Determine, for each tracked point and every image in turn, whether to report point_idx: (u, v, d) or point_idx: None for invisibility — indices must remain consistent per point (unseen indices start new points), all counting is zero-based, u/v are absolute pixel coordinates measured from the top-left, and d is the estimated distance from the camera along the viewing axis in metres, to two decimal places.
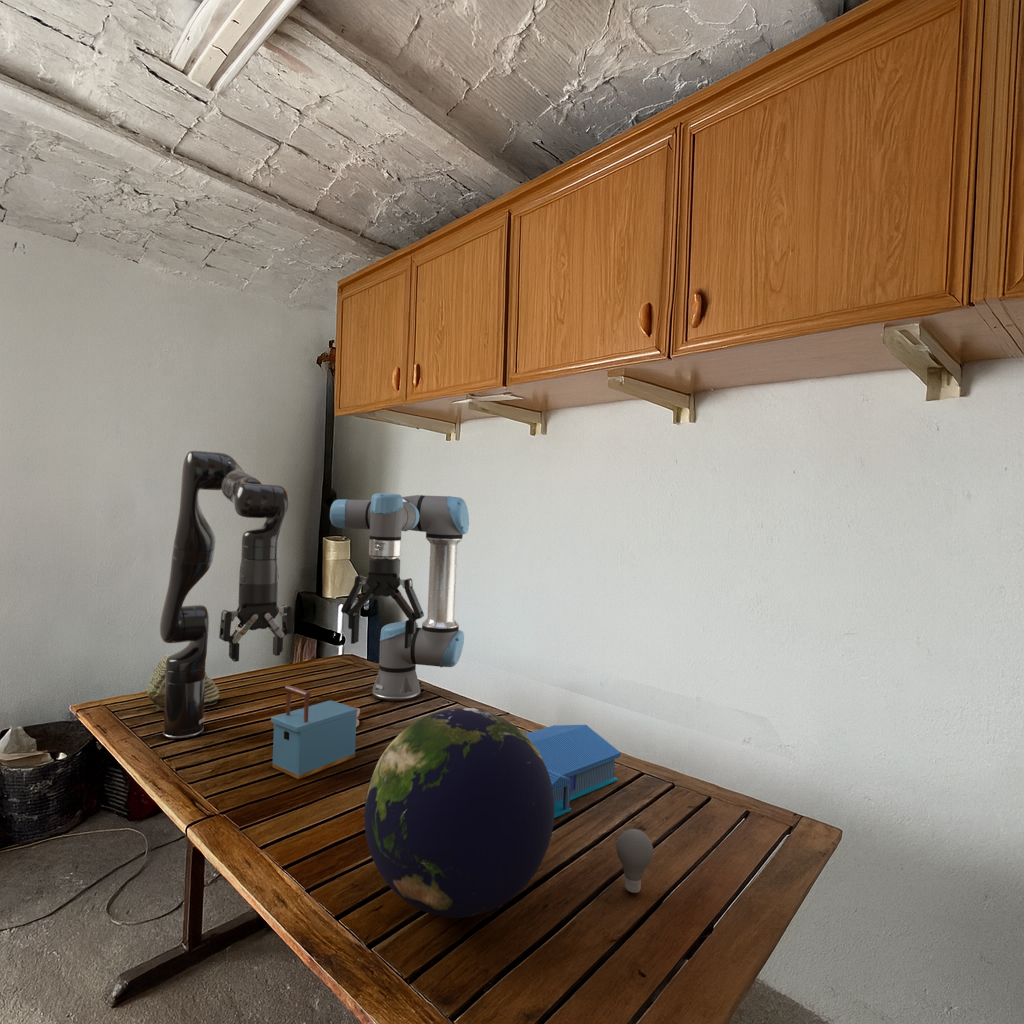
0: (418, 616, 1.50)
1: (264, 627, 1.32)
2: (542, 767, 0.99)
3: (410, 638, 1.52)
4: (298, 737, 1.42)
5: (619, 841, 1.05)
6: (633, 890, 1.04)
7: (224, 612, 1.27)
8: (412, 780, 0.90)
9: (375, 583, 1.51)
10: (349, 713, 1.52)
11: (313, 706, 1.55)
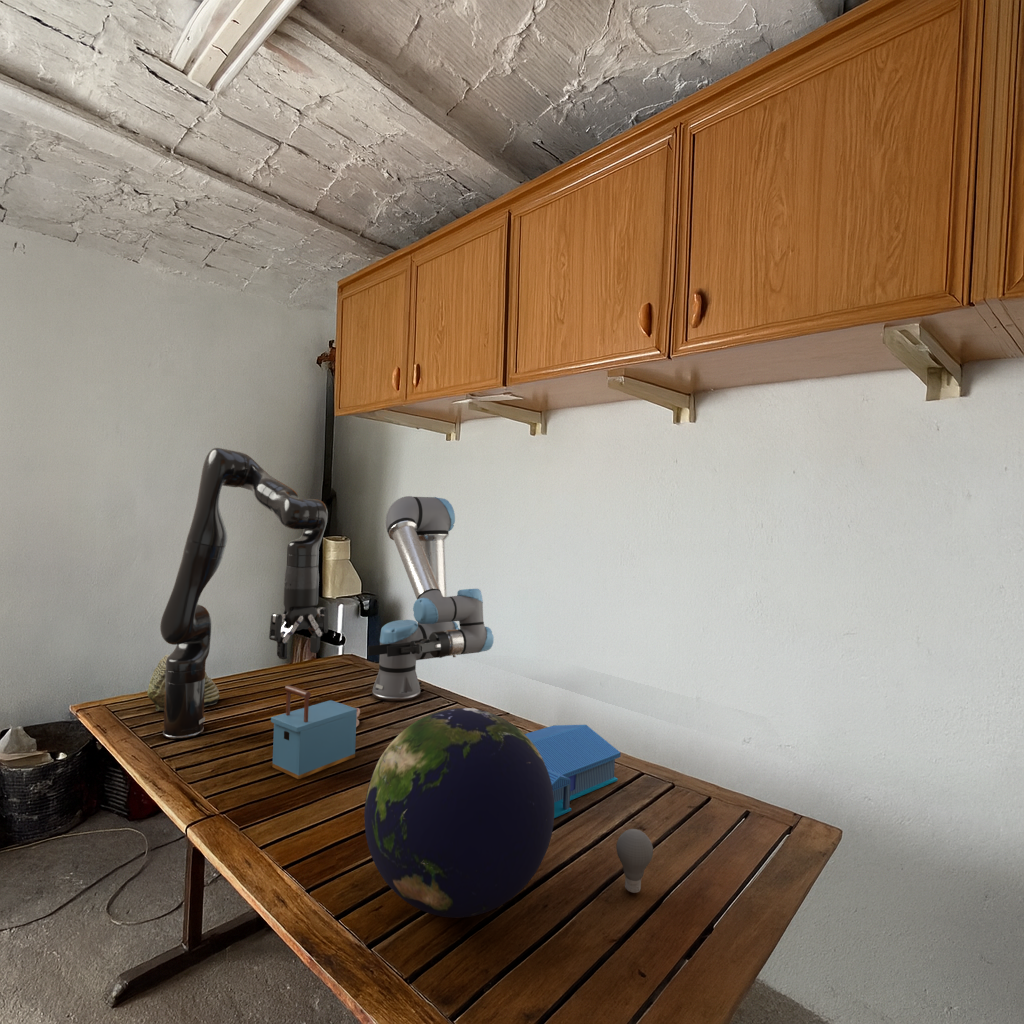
0: None
1: None
2: (542, 767, 0.99)
3: None
4: (298, 737, 1.42)
5: (619, 841, 1.05)
6: (633, 890, 1.04)
7: None
8: (412, 780, 0.90)
9: (428, 652, 1.83)
10: (349, 713, 1.52)
11: (313, 706, 1.55)
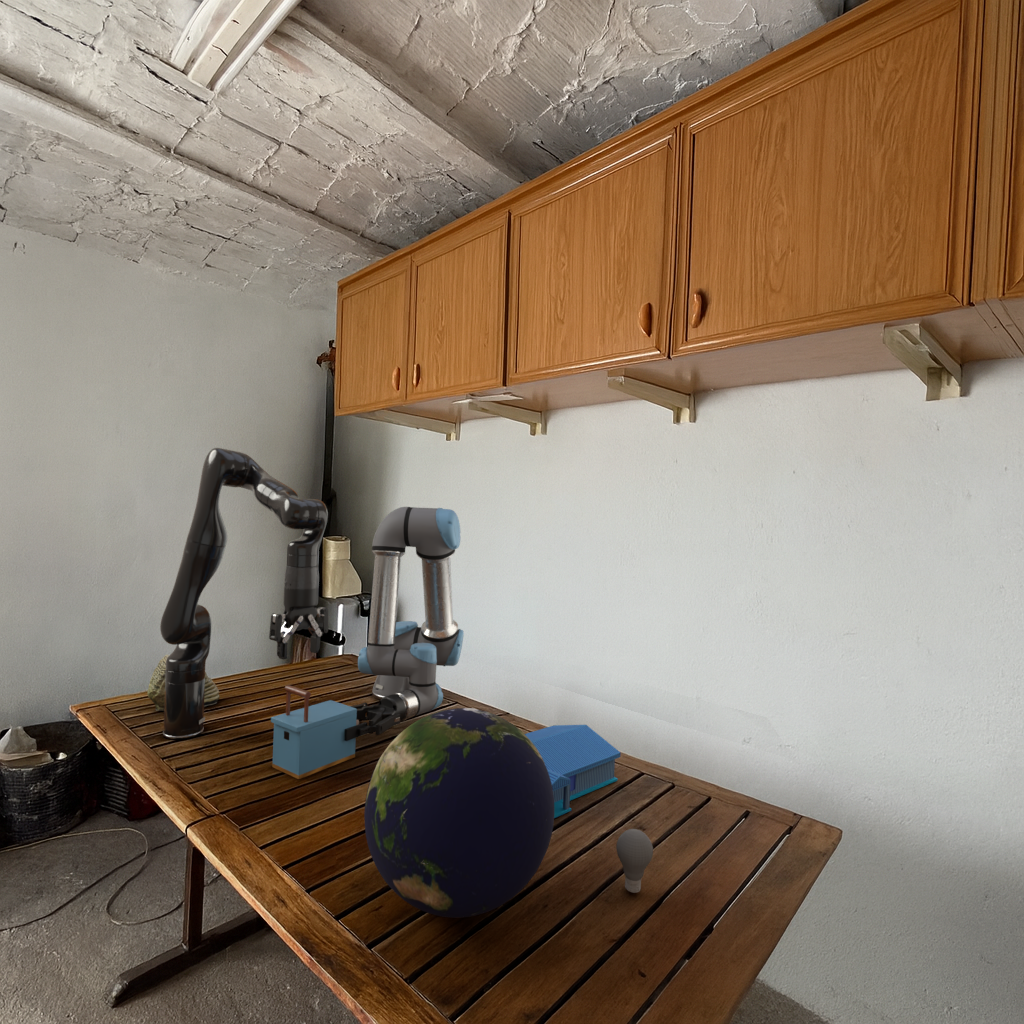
0: None
1: None
2: (542, 767, 0.99)
3: None
4: (298, 737, 1.42)
5: (619, 841, 1.05)
6: (633, 890, 1.04)
7: None
8: (412, 780, 0.90)
9: None
10: (348, 713, 1.52)
11: (313, 706, 1.55)
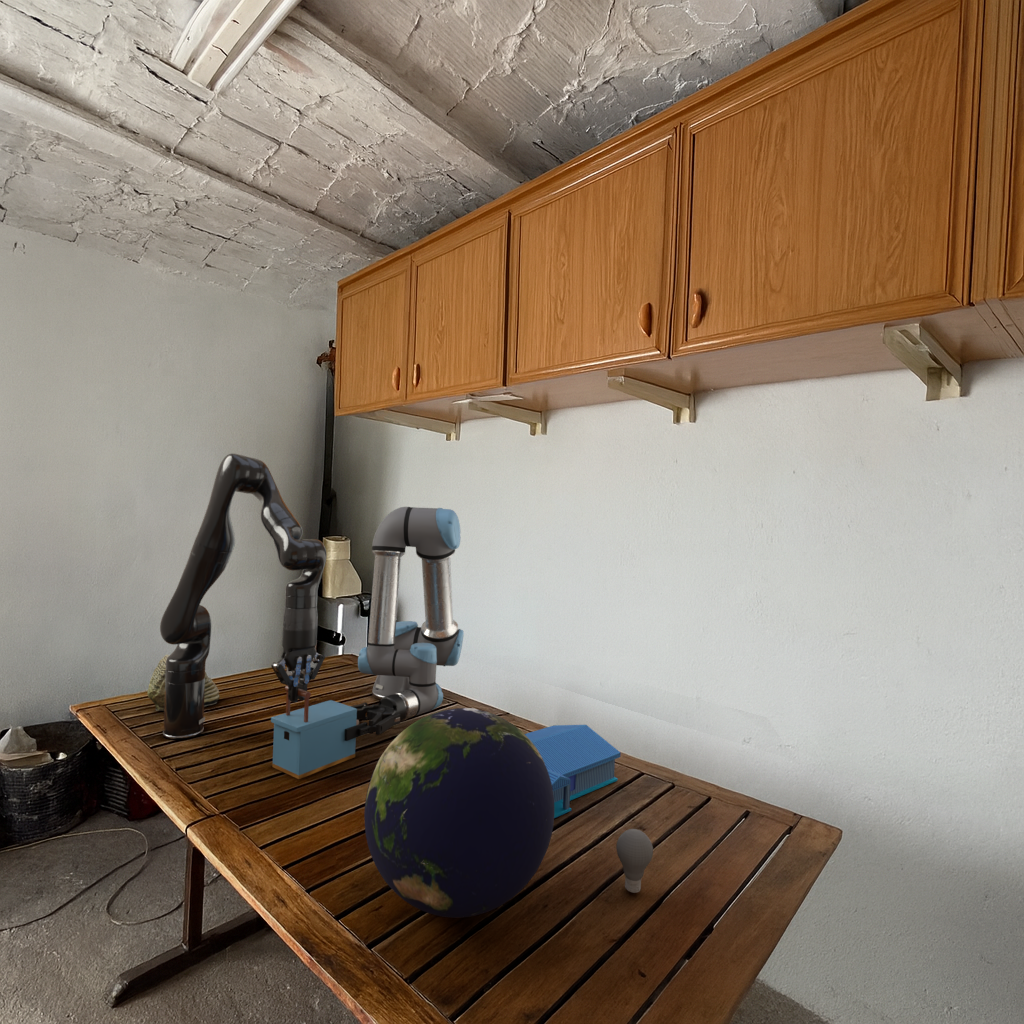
0: None
1: None
2: (542, 767, 0.99)
3: None
4: (298, 737, 1.42)
5: (619, 841, 1.05)
6: (633, 890, 1.04)
7: None
8: (412, 780, 0.90)
9: None
10: (349, 713, 1.52)
11: (313, 706, 1.55)
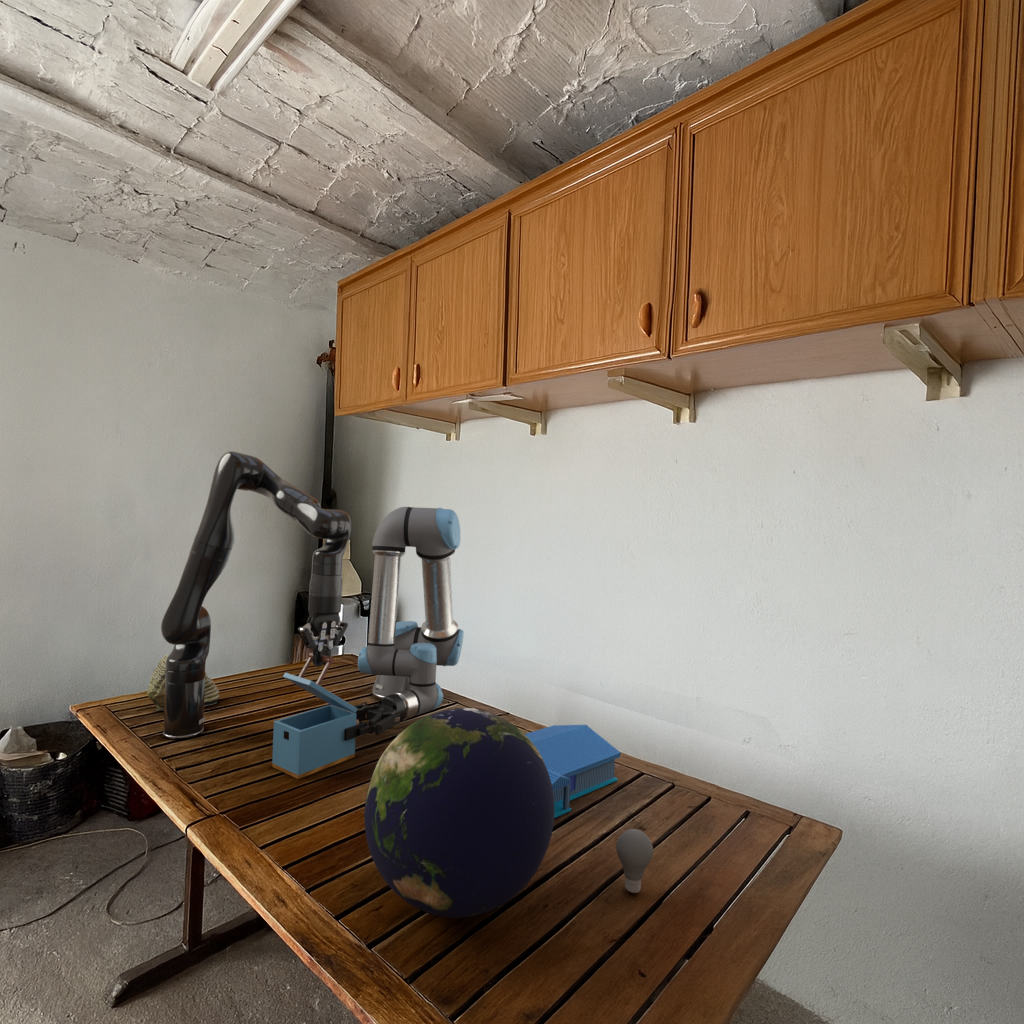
0: None
1: None
2: (542, 767, 0.99)
3: None
4: (298, 737, 1.42)
5: (619, 841, 1.05)
6: (633, 890, 1.04)
7: None
8: (412, 780, 0.90)
9: None
10: (350, 707, 1.53)
11: None
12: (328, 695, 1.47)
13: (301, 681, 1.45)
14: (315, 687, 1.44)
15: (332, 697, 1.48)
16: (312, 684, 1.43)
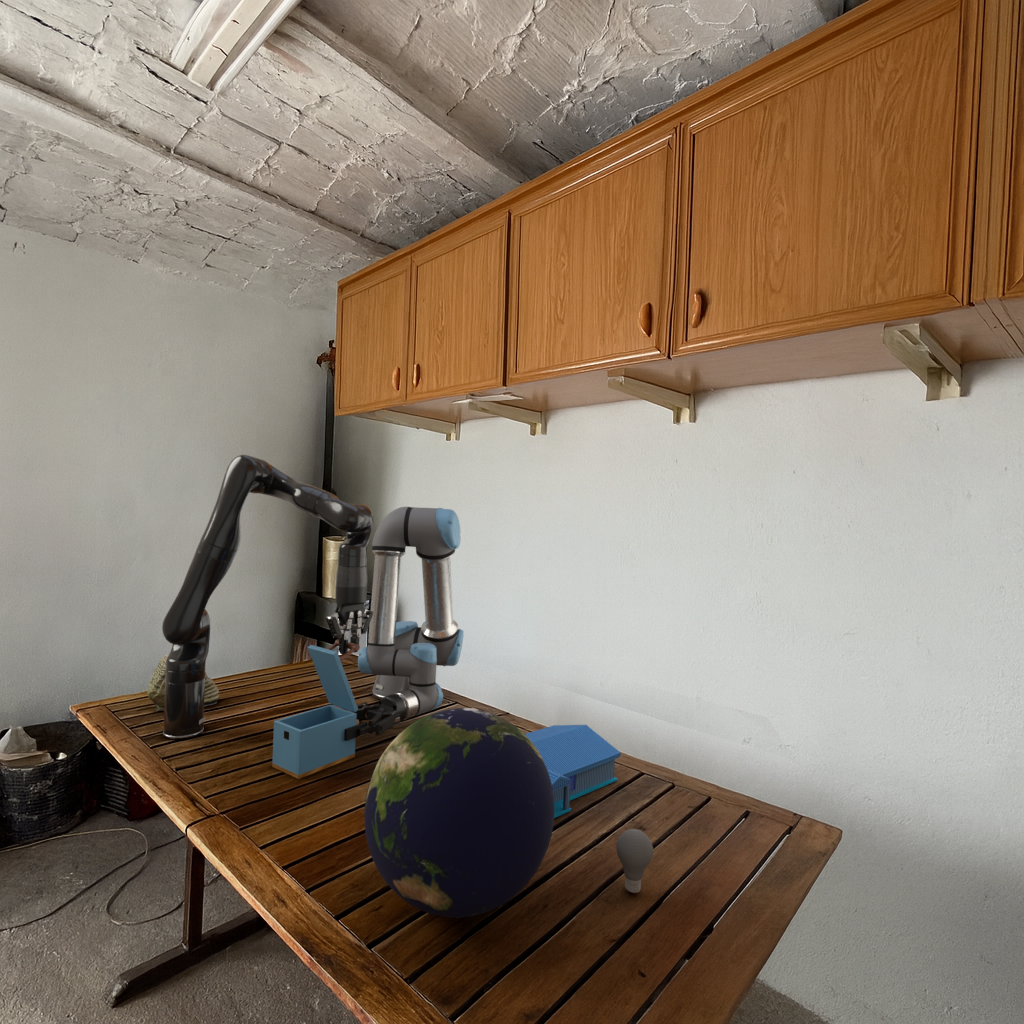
0: None
1: None
2: (542, 767, 0.99)
3: None
4: (298, 737, 1.42)
5: (619, 841, 1.05)
6: (633, 890, 1.04)
7: None
8: (412, 780, 0.90)
9: None
10: (353, 703, 1.54)
11: None
12: (343, 676, 1.51)
13: (326, 651, 1.50)
14: (337, 660, 1.49)
15: (345, 681, 1.51)
16: (336, 655, 1.49)
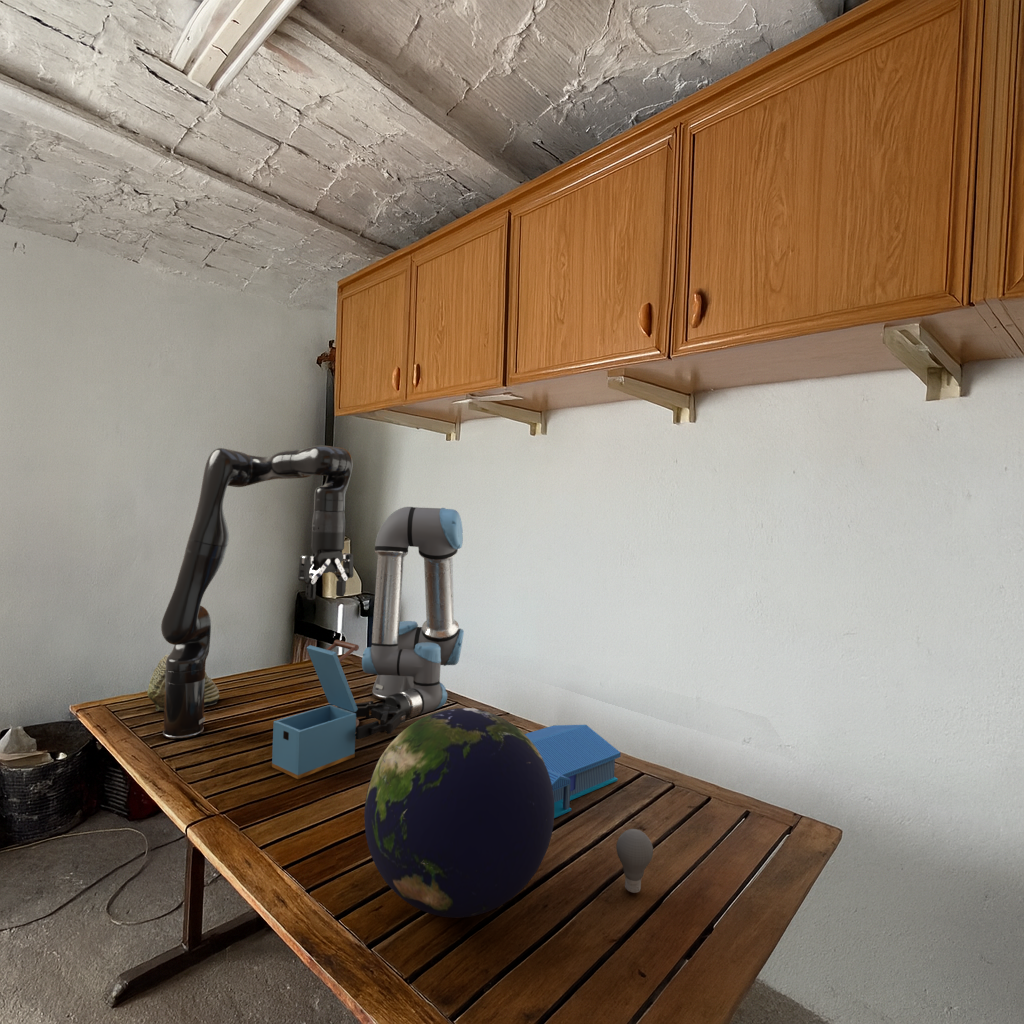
0: None
1: None
2: (542, 767, 0.99)
3: None
4: (297, 737, 1.42)
5: (619, 841, 1.05)
6: (633, 890, 1.04)
7: None
8: (412, 780, 0.90)
9: None
10: (353, 703, 1.54)
11: None
12: (342, 677, 1.50)
13: (325, 651, 1.50)
14: (336, 661, 1.49)
15: (344, 681, 1.51)
16: (335, 656, 1.48)
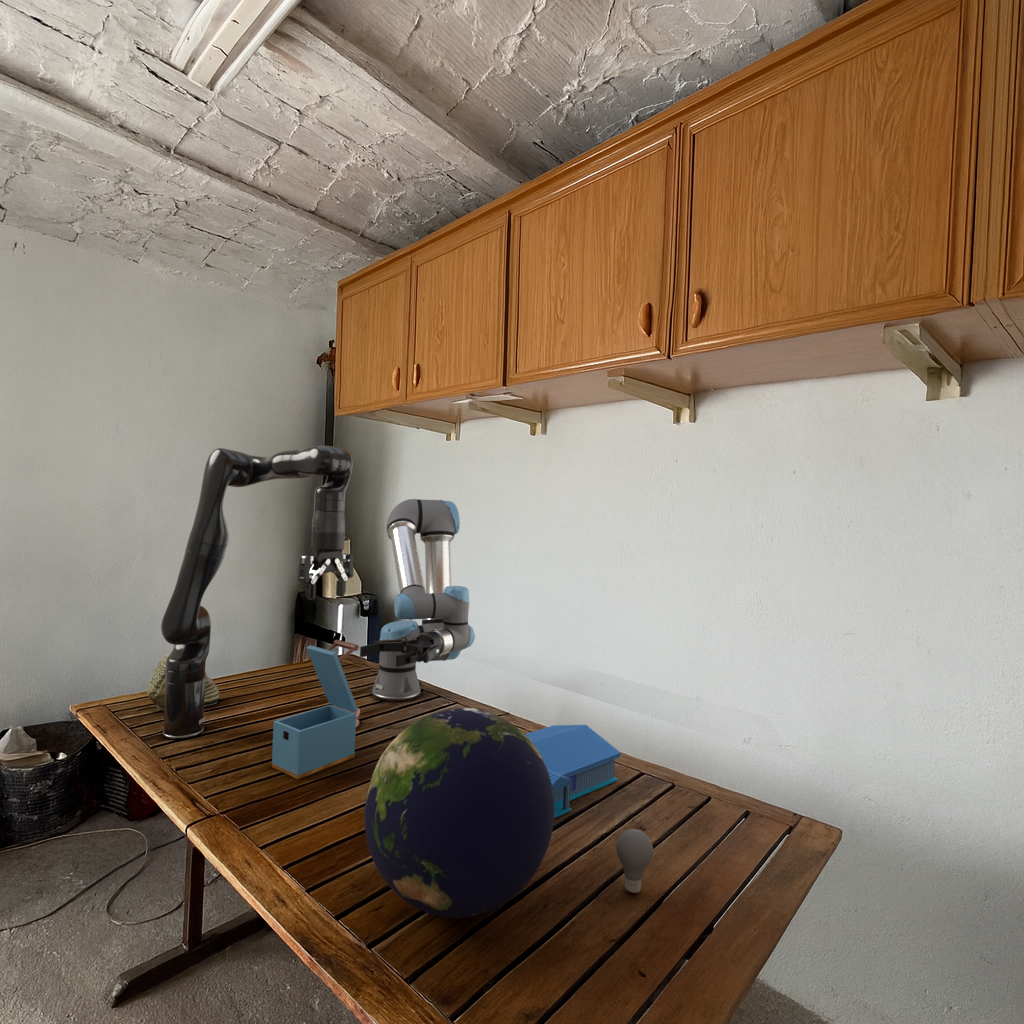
0: None
1: None
2: (542, 767, 0.99)
3: None
4: (297, 737, 1.42)
5: (619, 841, 1.05)
6: (633, 890, 1.04)
7: None
8: (412, 780, 0.90)
9: None
10: (353, 703, 1.54)
11: None
12: (342, 677, 1.50)
13: (325, 651, 1.50)
14: (336, 661, 1.49)
15: (344, 681, 1.51)
16: (335, 656, 1.48)
